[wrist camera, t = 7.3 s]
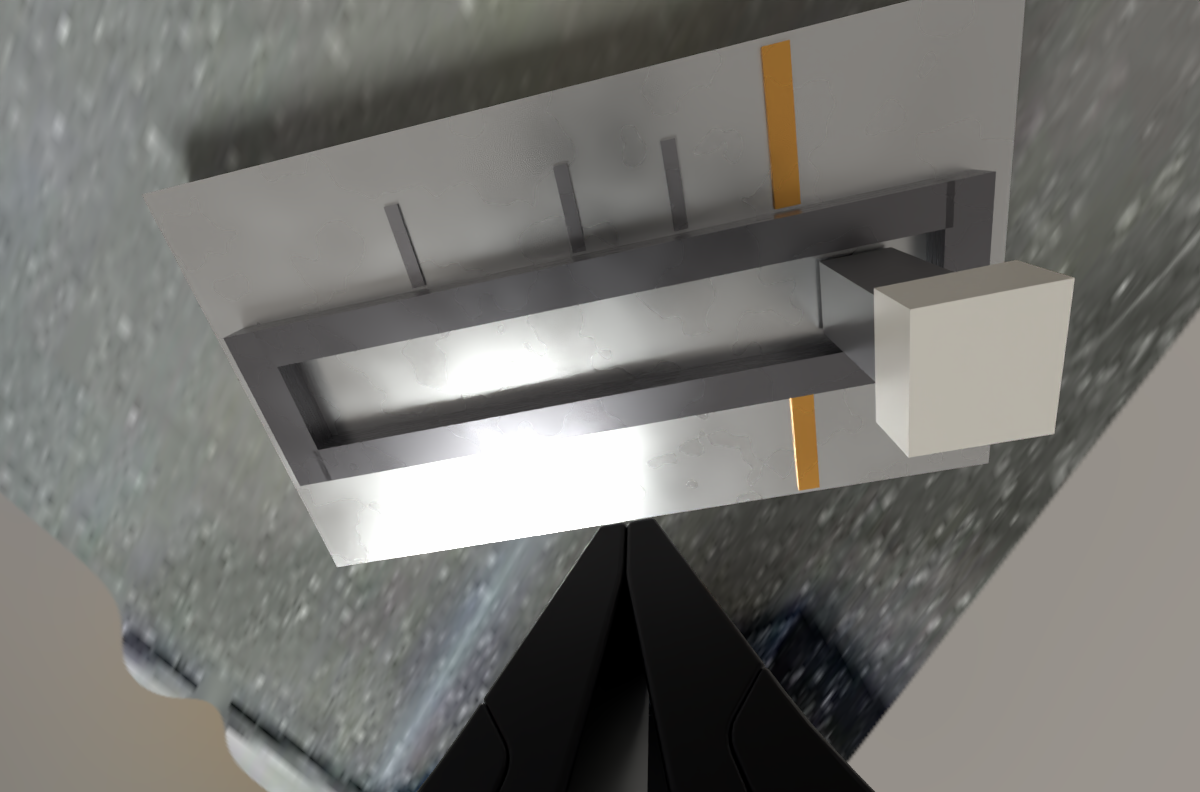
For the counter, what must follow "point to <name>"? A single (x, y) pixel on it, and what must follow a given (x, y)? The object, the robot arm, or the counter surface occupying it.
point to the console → (604, 281)
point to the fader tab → (951, 345)
